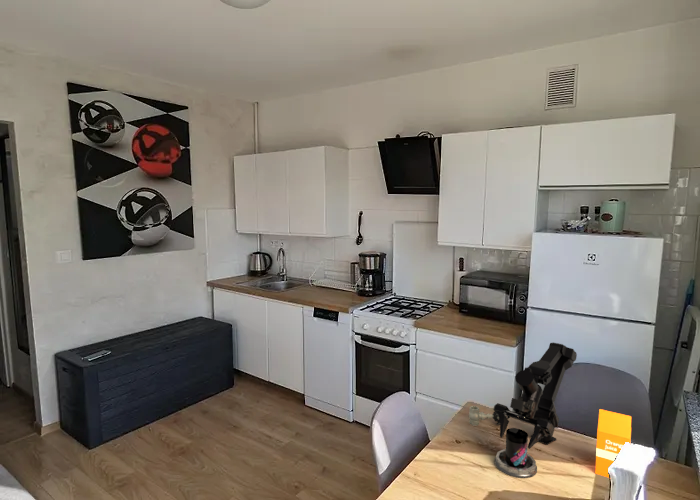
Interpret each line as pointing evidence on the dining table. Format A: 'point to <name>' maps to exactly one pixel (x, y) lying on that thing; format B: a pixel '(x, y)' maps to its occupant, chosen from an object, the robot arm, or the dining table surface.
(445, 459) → the dining table surface
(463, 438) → the dining table surface
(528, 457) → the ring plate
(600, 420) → the orange juice
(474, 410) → the valve
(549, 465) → the dining table surface
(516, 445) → the supplement container
